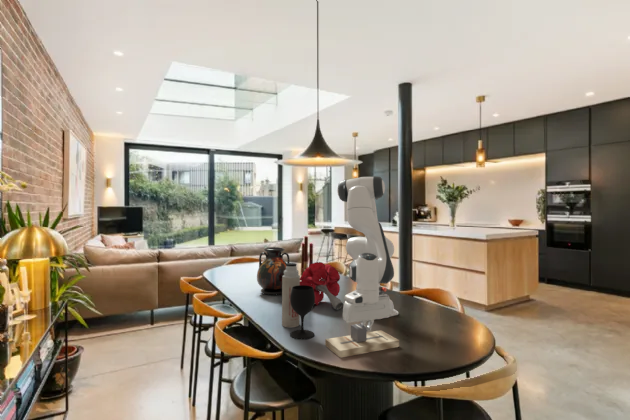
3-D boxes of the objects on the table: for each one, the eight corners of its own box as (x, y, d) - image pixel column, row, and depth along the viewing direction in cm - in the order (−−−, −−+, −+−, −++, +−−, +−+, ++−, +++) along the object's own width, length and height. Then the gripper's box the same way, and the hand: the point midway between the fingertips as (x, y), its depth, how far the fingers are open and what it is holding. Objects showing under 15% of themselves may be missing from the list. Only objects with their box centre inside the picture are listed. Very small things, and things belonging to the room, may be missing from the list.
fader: (359, 336, 138) (359, 323, 138) (366, 340, 133) (366, 327, 133) (350, 337, 136) (350, 324, 136) (357, 342, 131) (357, 328, 131)
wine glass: (314, 330, 152) (314, 284, 152) (314, 339, 141) (315, 290, 141) (290, 330, 152) (290, 284, 151) (289, 339, 141) (289, 290, 141)
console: (381, 336, 146) (381, 330, 146) (399, 346, 135) (399, 340, 135) (325, 345, 135) (325, 338, 135) (340, 357, 124) (340, 350, 124)
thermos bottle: (301, 326, 156) (301, 264, 156) (283, 328, 154) (284, 265, 154) (297, 321, 164) (297, 261, 164) (280, 322, 162) (281, 262, 162)
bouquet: (348, 316, 194) (317, 281, 214) (361, 283, 184) (328, 250, 204) (317, 326, 181) (288, 289, 201) (331, 292, 171) (298, 256, 190)
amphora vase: (253, 296, 208) (253, 250, 208) (260, 288, 230) (260, 246, 229) (289, 297, 207) (289, 250, 207) (292, 289, 229) (293, 246, 229)
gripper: (384, 291, 143) (384, 325, 143) (340, 296, 135) (340, 331, 135) (394, 295, 137) (393, 330, 137) (349, 300, 129) (348, 337, 129)
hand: (366, 330), depth 136 cm, fingers closed
